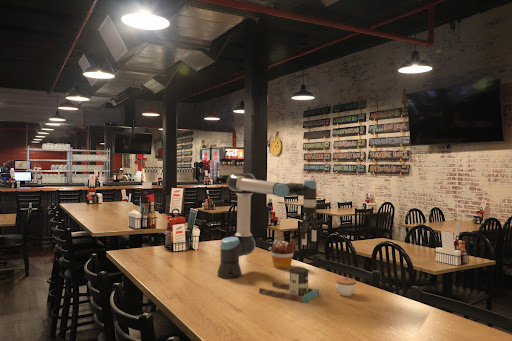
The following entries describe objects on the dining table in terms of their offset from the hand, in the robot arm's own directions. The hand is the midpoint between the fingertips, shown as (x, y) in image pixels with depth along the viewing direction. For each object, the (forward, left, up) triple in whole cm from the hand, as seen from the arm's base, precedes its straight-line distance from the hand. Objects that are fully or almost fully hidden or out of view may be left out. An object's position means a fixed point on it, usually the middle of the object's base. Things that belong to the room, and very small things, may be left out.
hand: (309, 242), depth 230 cm
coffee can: (+4, -21, -25) cm, 33 cm away
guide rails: (-2, -21, -25) cm, 32 cm away
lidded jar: (+24, -4, -25) cm, 35 cm away
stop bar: (+11, -21, -25) cm, 34 cm away
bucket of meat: (-33, +29, -25) cm, 50 cm away
